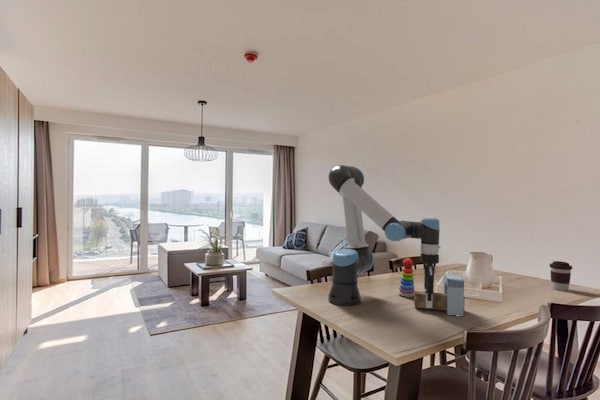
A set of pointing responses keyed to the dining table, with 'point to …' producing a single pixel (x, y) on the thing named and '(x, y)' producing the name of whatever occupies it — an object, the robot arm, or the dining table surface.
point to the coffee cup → (560, 275)
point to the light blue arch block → (454, 294)
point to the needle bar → (437, 302)
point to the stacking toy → (407, 279)
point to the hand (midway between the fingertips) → (428, 306)
